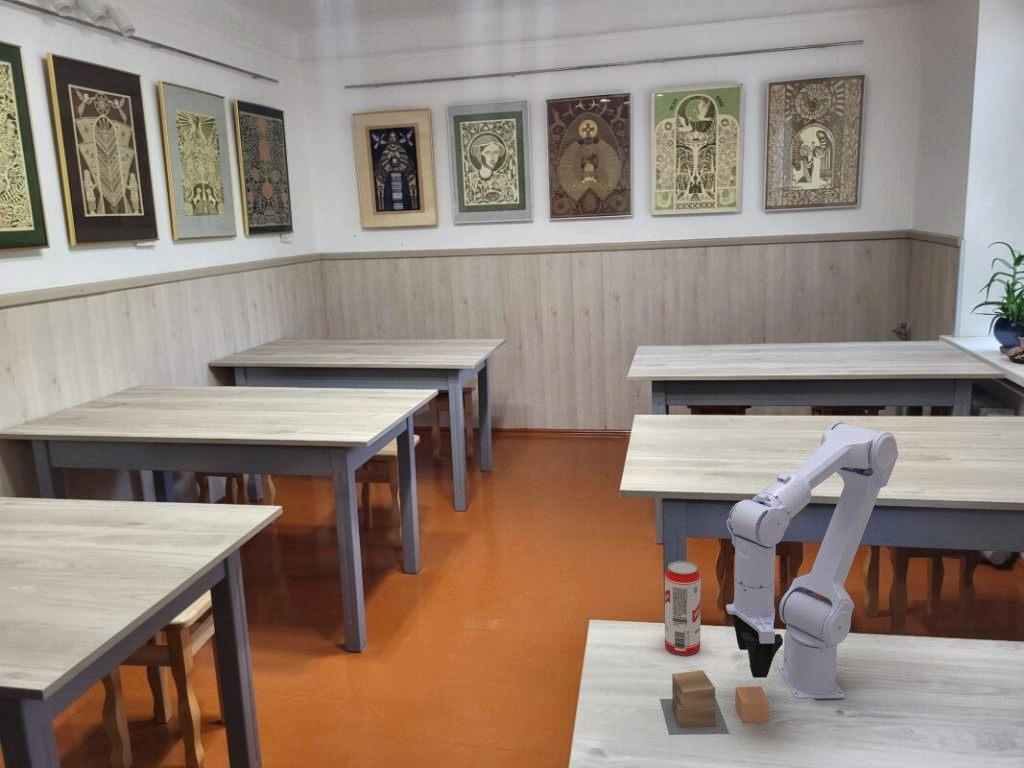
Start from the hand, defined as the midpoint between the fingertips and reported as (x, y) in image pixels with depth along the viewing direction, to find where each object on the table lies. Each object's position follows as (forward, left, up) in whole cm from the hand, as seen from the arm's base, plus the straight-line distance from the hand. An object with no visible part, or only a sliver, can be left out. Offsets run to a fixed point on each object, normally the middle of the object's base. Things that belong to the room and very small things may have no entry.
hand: (752, 662), depth 119 cm
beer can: (-20, -7, -10) cm, 23 cm away
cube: (0, 0, -10) cm, 10 cm away
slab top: (0, -9, -6) cm, 11 cm away
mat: (0, -9, -9) cm, 13 cm away
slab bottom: (0, -9, -9) cm, 13 cm away
